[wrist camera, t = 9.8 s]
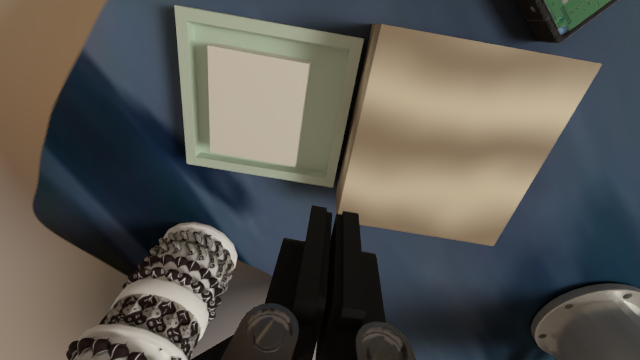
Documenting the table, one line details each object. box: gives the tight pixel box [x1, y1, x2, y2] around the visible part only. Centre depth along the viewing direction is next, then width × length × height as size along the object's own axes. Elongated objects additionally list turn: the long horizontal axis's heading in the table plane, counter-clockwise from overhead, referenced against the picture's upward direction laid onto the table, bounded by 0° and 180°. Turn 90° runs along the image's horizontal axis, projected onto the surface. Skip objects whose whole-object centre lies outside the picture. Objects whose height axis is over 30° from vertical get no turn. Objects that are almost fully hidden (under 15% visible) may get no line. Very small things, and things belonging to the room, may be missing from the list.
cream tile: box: [207, 44, 311, 167], centre depth 22 cm, size 8×7×2 cm
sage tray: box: [174, 5, 364, 188], centre depth 23 cm, size 12×13×2 cm
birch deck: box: [336, 24, 602, 246], centre depth 22 cm, size 14×13×5 cm
